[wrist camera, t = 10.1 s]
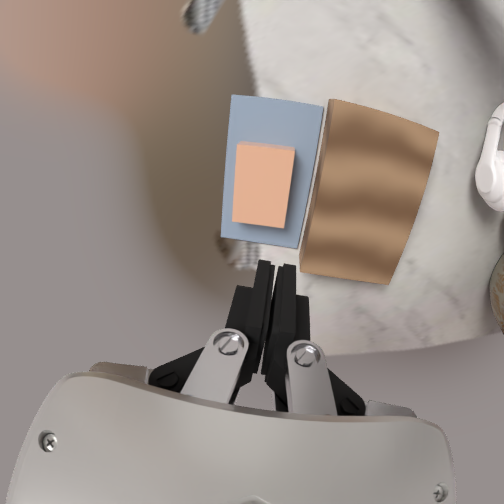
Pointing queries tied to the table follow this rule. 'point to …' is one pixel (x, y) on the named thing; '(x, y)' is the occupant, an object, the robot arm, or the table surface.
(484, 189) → the headphones
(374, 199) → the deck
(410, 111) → the table surface
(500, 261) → the vase
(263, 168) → the tile
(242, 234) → the mat
